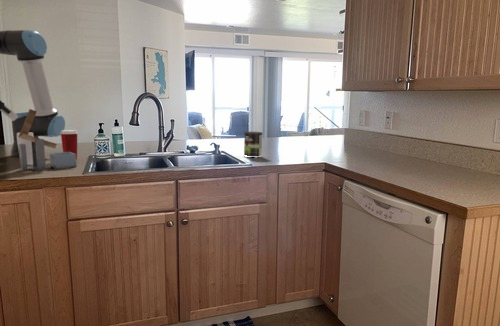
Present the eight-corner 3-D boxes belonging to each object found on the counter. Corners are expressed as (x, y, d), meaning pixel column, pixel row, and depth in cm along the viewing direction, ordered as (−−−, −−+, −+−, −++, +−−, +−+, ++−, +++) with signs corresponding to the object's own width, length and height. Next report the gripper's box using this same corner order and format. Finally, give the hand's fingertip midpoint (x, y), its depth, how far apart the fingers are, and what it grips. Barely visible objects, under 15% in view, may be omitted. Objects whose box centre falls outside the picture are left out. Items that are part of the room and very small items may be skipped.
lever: (17, 137, 162) (28, 109, 163) (51, 147, 172) (61, 120, 173) (20, 138, 158) (31, 109, 159) (55, 148, 167) (65, 121, 169)
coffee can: (252, 158, 208) (252, 133, 206) (240, 156, 215) (240, 132, 213) (265, 157, 215) (266, 132, 212) (253, 155, 222) (253, 131, 220)
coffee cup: (82, 158, 196) (81, 130, 194) (73, 161, 188) (72, 131, 186) (67, 158, 197) (65, 129, 194) (58, 160, 189) (56, 130, 186)
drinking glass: (20, 163, 178) (18, 132, 176) (36, 163, 181) (34, 132, 178) (17, 166, 172) (14, 133, 169) (34, 165, 174) (32, 133, 172)
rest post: (20, 169, 163) (18, 143, 162) (25, 169, 165) (23, 143, 163) (22, 171, 161) (20, 144, 159) (27, 170, 162) (25, 144, 160)
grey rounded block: (50, 166, 174) (49, 153, 173) (70, 164, 180) (69, 151, 179) (56, 168, 168) (55, 155, 167) (76, 166, 173) (75, 153, 172)
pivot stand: (29, 168, 168) (26, 138, 166) (43, 166, 172) (41, 137, 170) (34, 171, 161) (32, 139, 159) (49, 169, 166) (47, 139, 163)
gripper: (-48, 82, 147) (5, 124, 161) (-44, 81, 138) (12, 125, 152) (-33, 69, 150) (18, 111, 164) (-27, 68, 141) (26, 112, 155)
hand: (15, 118), depth 158 cm, fingers closed
